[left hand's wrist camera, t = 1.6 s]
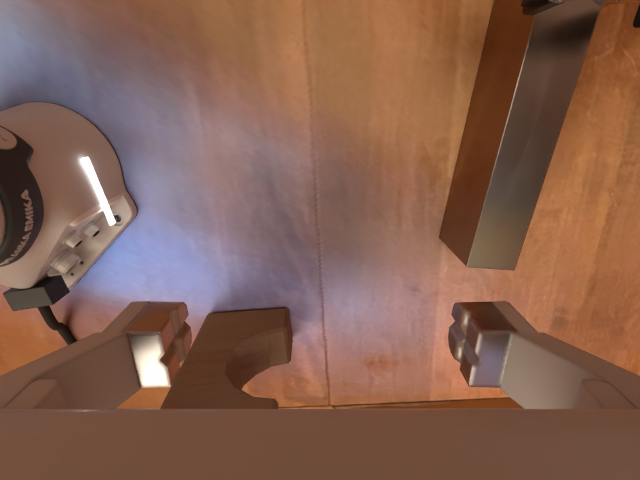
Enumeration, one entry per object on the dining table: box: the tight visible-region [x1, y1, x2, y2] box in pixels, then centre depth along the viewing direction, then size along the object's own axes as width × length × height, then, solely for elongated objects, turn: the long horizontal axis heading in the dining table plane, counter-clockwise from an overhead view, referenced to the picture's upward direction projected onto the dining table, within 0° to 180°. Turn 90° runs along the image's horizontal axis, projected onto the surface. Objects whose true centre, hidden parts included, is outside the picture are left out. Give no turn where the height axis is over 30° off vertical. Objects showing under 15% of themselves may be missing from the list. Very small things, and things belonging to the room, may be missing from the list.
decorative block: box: [160, 308, 292, 409], centre depth 38 cm, size 11×6×20 cm, turn 93°
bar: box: [439, 0, 602, 270], centre depth 34 cm, size 27×5×8 cm, turn 175°
